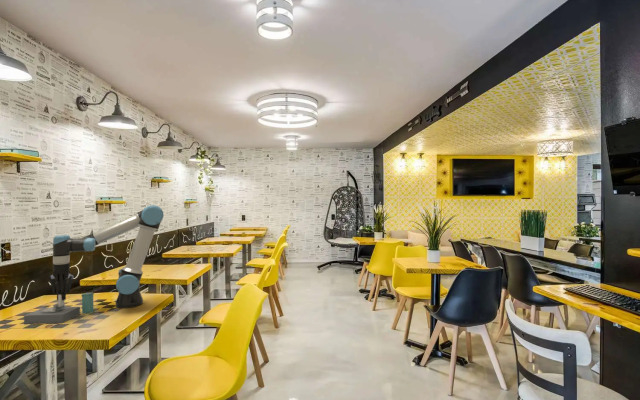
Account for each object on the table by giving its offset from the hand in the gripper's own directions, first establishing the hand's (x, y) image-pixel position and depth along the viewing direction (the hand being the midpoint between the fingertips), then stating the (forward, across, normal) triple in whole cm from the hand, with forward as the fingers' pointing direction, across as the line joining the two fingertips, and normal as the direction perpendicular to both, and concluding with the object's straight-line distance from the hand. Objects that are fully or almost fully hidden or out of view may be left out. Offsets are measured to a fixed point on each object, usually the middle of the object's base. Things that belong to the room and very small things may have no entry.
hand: (61, 305), depth 191 cm
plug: (+7, -8, -11) cm, 15 cm away
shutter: (+2, +4, 0) cm, 5 cm away
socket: (+7, +4, 0) cm, 8 cm away
